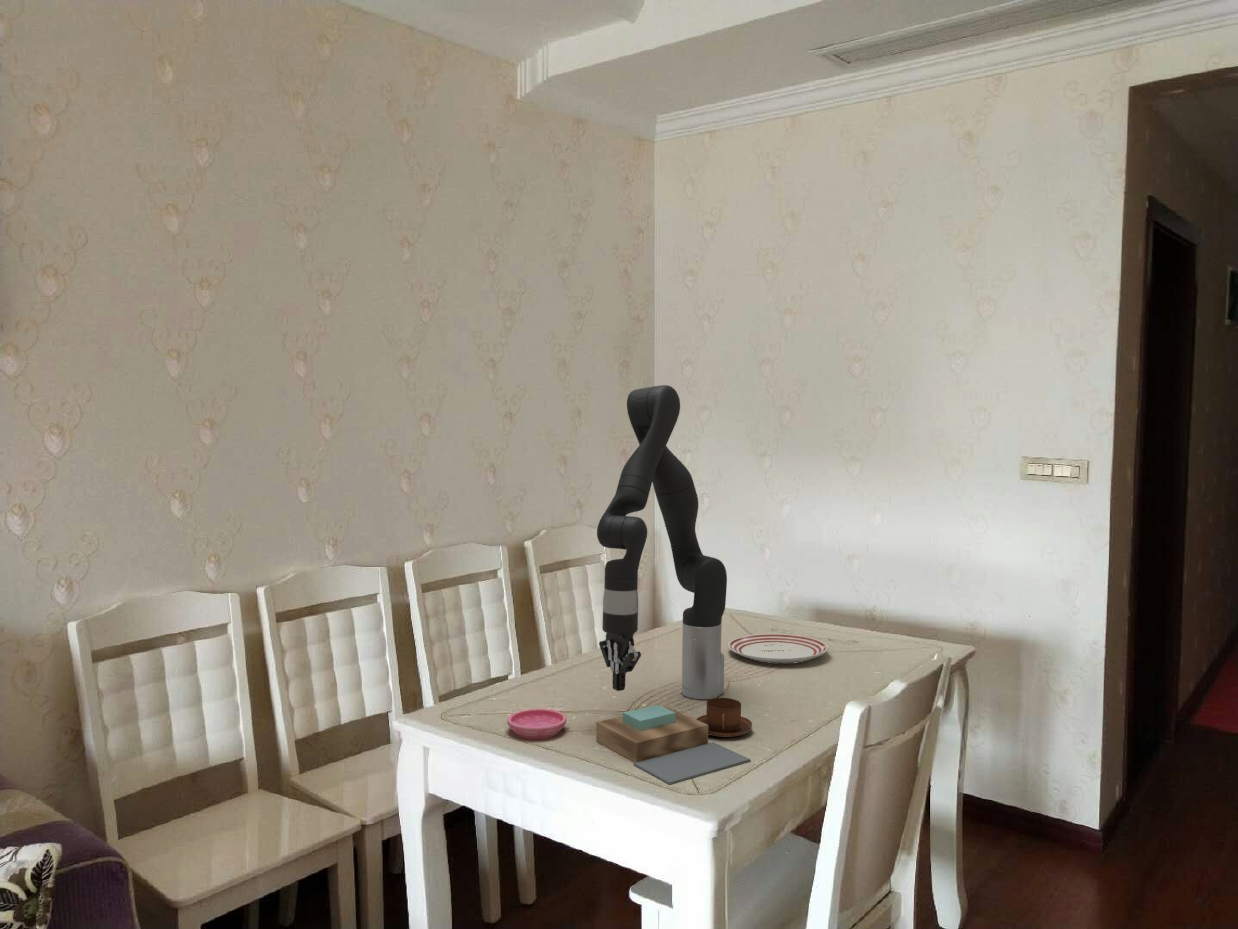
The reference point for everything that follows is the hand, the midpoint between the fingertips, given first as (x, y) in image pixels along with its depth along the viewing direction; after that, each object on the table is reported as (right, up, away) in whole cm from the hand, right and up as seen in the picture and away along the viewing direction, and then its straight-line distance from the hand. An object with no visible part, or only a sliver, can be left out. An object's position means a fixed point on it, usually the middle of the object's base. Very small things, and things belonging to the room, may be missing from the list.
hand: (618, 689), depth 200 cm
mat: (+14, -10, -19) cm, 26 cm away
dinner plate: (+44, -5, +59) cm, 73 cm away
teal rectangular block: (+6, -5, -8) cm, 11 cm away
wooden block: (+7, -9, -8) cm, 14 cm away
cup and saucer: (+22, -9, -1) cm, 24 cm away
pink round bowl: (-17, -9, -2) cm, 19 cm away
